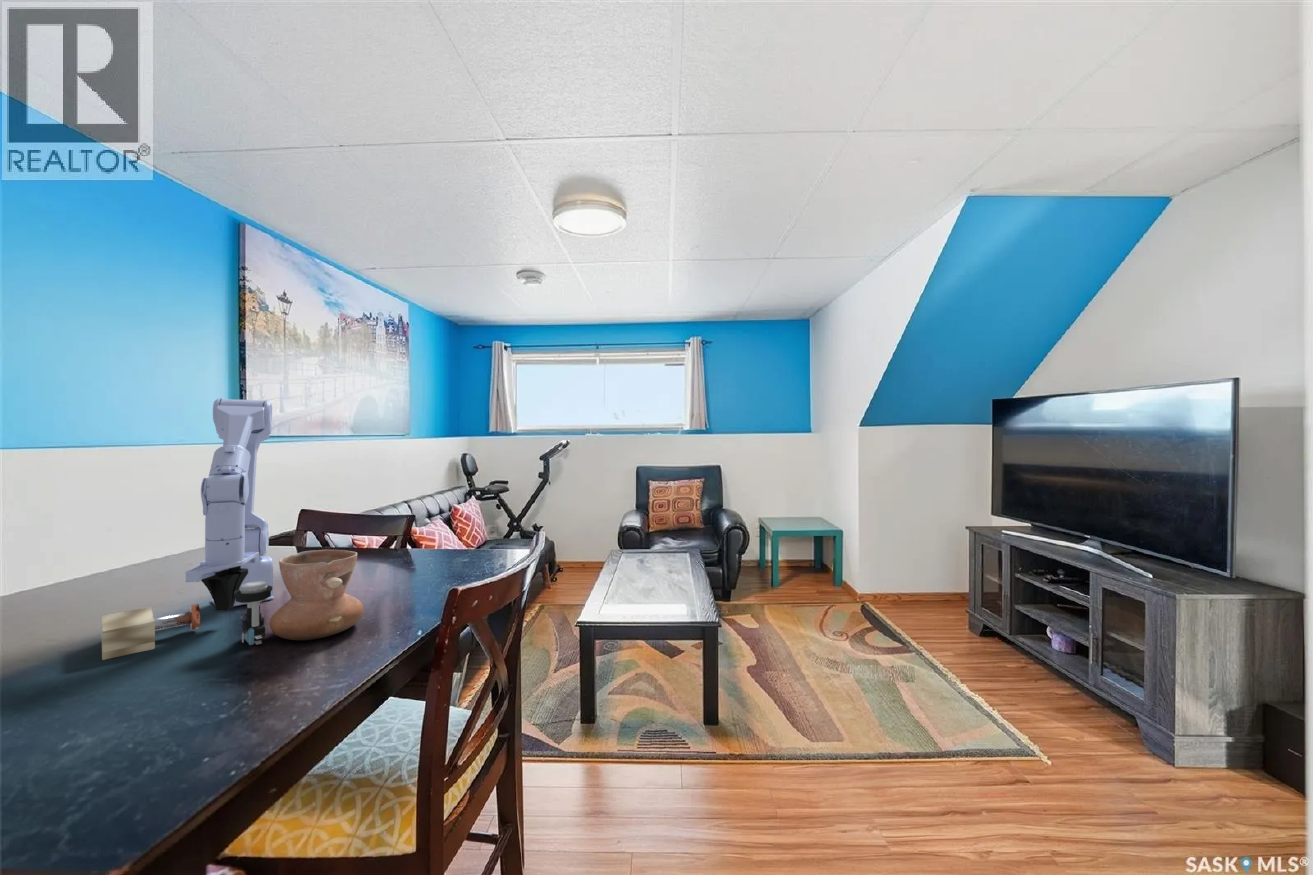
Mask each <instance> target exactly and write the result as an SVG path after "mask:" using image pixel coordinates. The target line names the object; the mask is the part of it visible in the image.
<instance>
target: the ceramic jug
mask: <svg viewBox="0 0 1313 875" xmlns="http://www.w3.org/2000/svg"><path fill="white" fill-rule="evenodd" d="M357 561H358V552H356V551H352V550H346V549H319V550H315V549H313V550H305V551H300V552H298V553H297V552H296V553H290V554H287V555H285V556H283V557H280V559H279V561H278V565H279V570H280V575H281V579H282V581H283V584H284V586H285V588H286V591H287V592H288V593H289V595H290V597H291V598H290V599H289V600H288V601H287V602H286V603H284V604H283V605H282V606H280V607H279V608H278V609H276V611H275V612H273V614H272V615H271V617H270V619H269V628H270V630H271V632H272V633H273V634H274V635H276V636H277V637H279V638H282V639H285V640H291V641H311V640H317V639H323V638H326V637H330V636H335V635H336V634H339V633H342V632H344V631H346V630H348V629H350V628H351V627H353V626H354V625H356V624H357V623H358V622H359V621H360V619H361V618H362V616H363V614H364V609H365V608H364V605H363V602H361V601H360V600H359V599H358V598H357V597H355V596H353V595H350V594H349V593H346V589H347V587H348V584H349V583H350V580H351V578H352V576H353V573H354V571H355V567H356V564H357Z"/></svg>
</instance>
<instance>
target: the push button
mask: <svg viewBox="0 0 1313 875" xmlns="http://www.w3.org/2000/svg"><path fill="white" fill-rule="evenodd" d="M272 589H273V590H274V586H273V587H272V586H268V585H266V582H264V581H256V582H249V583H245V584H243V585H241V589H239V590H236V591H235V592H234V595H235V596H236V602H240V603H241V604H244V605H246V606H247V607H246V613H245V614H244V616H245V617H244V618H245V619H244V620H242V622H241V625H242V626H241V627H242V631H243V632H242V633H241V643H243V644H244V643H245V641H246V643H247V644H248V645H249V646H254V645H260V644H261V645H262V644H263V639H265V637H266V627H265V617H264V616H262V612H261V604H260V603H262V602H265V601H267V600H266V598H268V597H270V596H271V591H272Z"/></svg>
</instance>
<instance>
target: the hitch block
mask: <svg viewBox="0 0 1313 875" xmlns="http://www.w3.org/2000/svg"><path fill="white" fill-rule="evenodd" d="M153 614H154V613H153V609H152V607H151V606H149V607H142V608H138V609H134V610H133V609H132V610H126V611H121V612H120V611H119V612H116V613H108V614H104V615H101V659H102V661H106V660H110V659H113V658H117V657H118V658H119V657H123V656H128V655H132V654H136V653H141V652H146V651H151V650H154V649H156V641H155V640H156V631H155V620H154V618H155V617H154V615H153Z"/></svg>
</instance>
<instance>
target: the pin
mask: <svg viewBox="0 0 1313 875" xmlns="http://www.w3.org/2000/svg"><path fill="white" fill-rule="evenodd" d="M154 620H155V632H157V631H162V630H166V629H167V630H168V629H172V628H175V627H176V628H177V627H181V626H187V625H189V627H190V630H191V631H194V630H198V629H200V626H201V608H200V604H199V603H197V604H196V603H195V604H191V605H190V606H189V611H185V612H178V613H176V614H170V615H165V616H158V617H154Z"/></svg>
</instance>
